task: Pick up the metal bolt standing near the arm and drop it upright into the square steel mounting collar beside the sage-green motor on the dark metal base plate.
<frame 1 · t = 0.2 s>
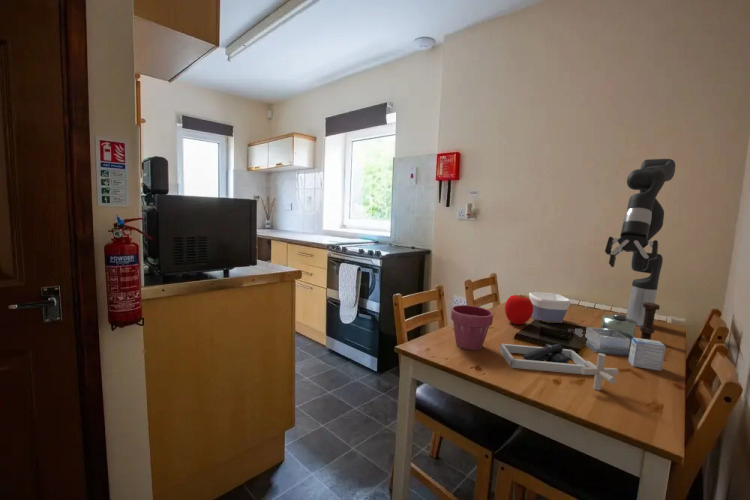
hand: (626, 268, 118), 31 cm above the table, tool tilted 20°, fingers open, 8 cm apart
plant pot: (468, 345, 124), on the table
medicine box: (644, 367, 115), on the table
bowl: (546, 320, 159), on the table
gray parallelogram frame: (542, 361, 113), on the table
motor mount: (610, 343, 133), on the table
bolt: (645, 340, 140), on the table
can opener: (542, 363, 113), resting in gray parallelogram frame
pipe connector: (596, 389, 98), on the table
tomato: (516, 323, 151), on the table
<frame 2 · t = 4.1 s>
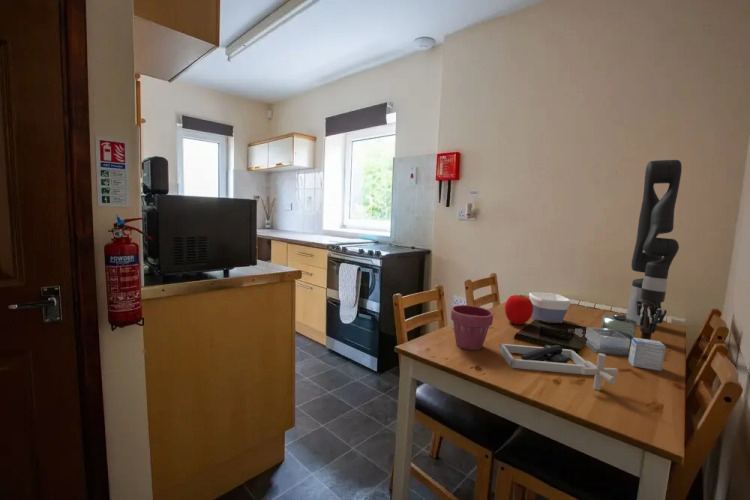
hand: (646, 329, 139), 4 cm above the table, tool pointing down, fingers closed on bolt, 4 cm apart
bolt: (645, 340, 140), on the table, touching gripper
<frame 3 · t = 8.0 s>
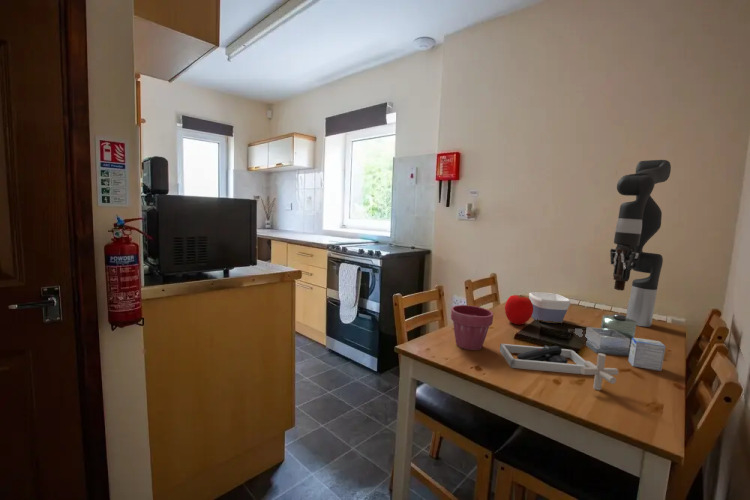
hand: (620, 278, 127), 26 cm above the table, tool pointing down, fingers closed on bolt, 4 cm apart
bolt: (618, 290, 128), point 22 cm above the table, touching gripper
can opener: (538, 364, 112), resting in gray parallelogram frame
everything else where it was.
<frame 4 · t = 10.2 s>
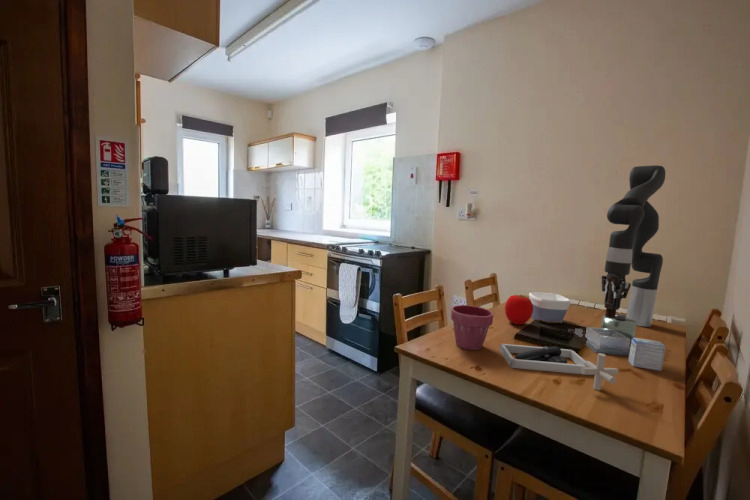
hand: (611, 306, 128), 16 cm above the table, tool pointing down, fingers closed on bolt, 4 cm apart
bolt: (609, 318, 128), point 11 cm above the table, touching gripper
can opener: (537, 365, 112), resting in gray parallelogram frame
everything else where it was.
when the fingers open (8 cm above the table, at t = 12.1 s): bolt drops 2 cm, resting on motor mount.
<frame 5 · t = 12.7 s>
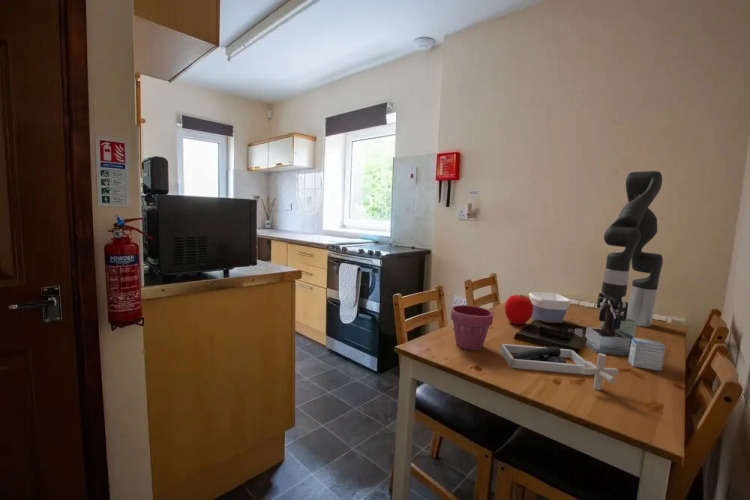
hand: (608, 324, 129), 9 cm above the table, tool pointing down, fingers open, 8 cm apart
bolt: (606, 343, 130), point 1 cm above the table, touching motor mount
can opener: (536, 365, 111), resting in gray parallelogram frame
everything else where it was.
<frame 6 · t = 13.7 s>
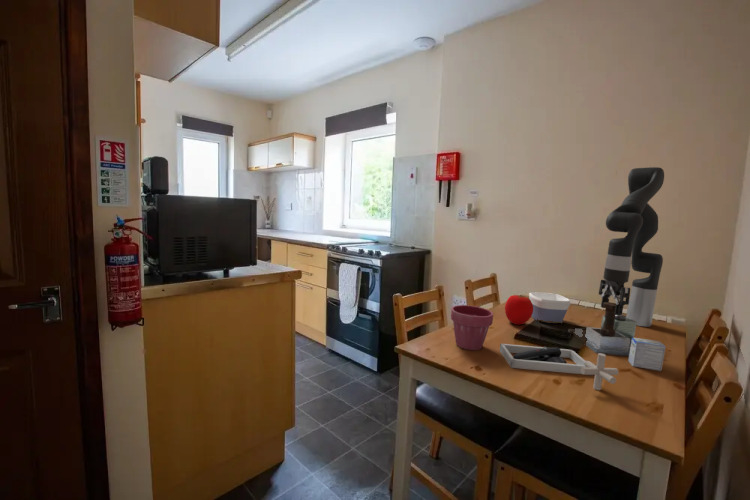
hand: (610, 311, 128), 14 cm above the table, tool pointing down, fingers open, 8 cm apart
nothing on the table moved.
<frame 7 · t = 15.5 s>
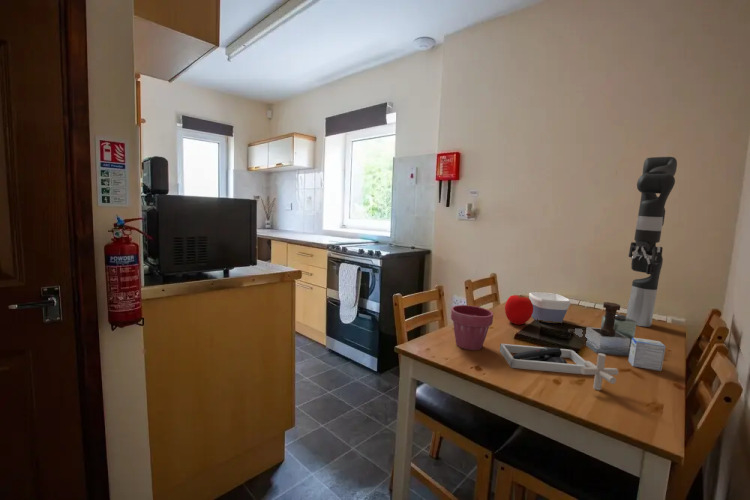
hand: (641, 271, 131), 28 cm above the table, tool pointing down, fingers open, 8 cm apart
nothing on the table moved.
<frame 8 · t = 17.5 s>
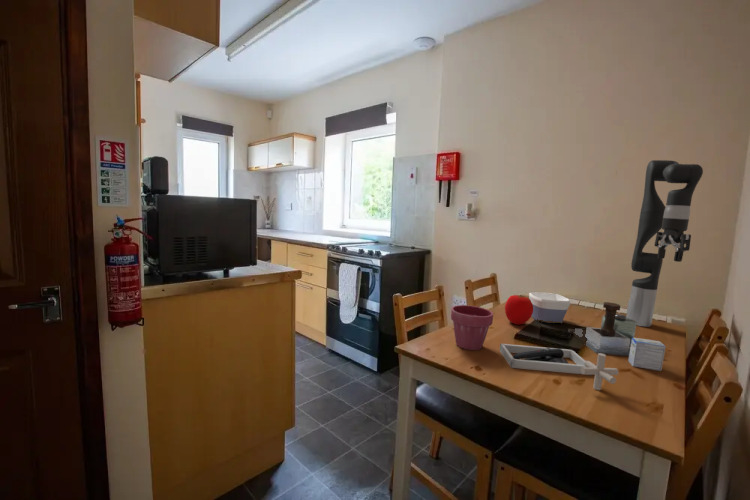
hand: (668, 259, 134), 33 cm above the table, tool pointing down, fingers open, 8 cm apart
at the end: bolt 0.1 cm from the target spot on the motor mount, point 1.3 cm above the motor mount's base; bolt tilted 0°; the gripper is holding nothing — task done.
